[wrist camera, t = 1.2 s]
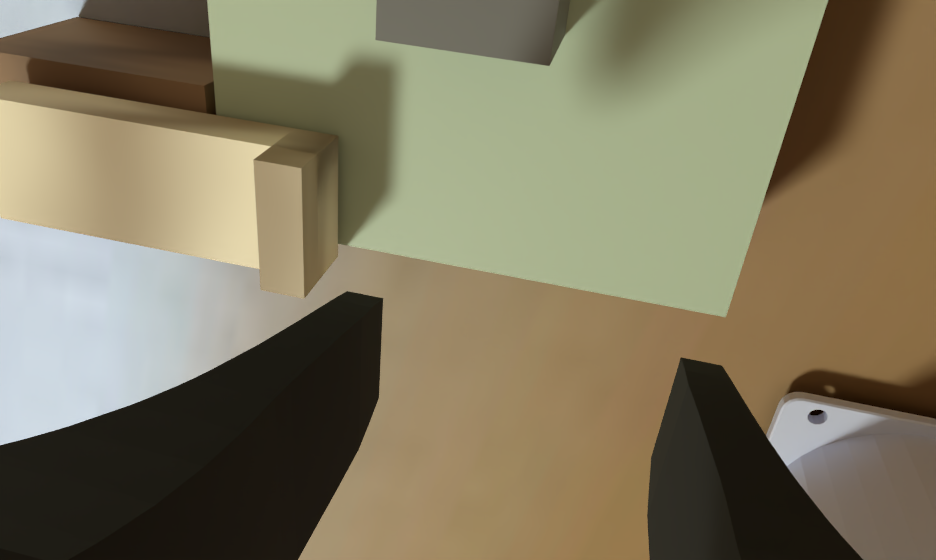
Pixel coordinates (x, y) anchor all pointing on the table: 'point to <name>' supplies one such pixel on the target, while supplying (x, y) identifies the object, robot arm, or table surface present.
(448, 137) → the toolbox lid
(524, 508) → the table surface
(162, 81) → the toolbox base
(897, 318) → the table surface
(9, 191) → the tan wooden bar
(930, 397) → the table surface
